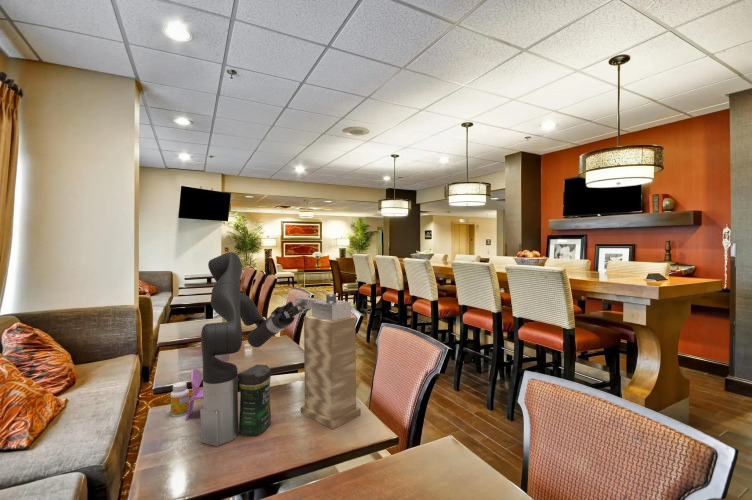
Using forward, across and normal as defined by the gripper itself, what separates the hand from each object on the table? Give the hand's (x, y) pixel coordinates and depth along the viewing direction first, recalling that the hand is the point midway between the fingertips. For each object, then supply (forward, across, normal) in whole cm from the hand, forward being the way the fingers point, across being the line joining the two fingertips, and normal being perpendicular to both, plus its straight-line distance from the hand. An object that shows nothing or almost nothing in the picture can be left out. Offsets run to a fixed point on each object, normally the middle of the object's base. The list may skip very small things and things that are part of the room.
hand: (302, 302), depth 124 cm
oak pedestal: (-5, 0, +38) cm, 38 cm away
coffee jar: (-14, -21, +33) cm, 41 cm away
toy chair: (-33, -28, +22) cm, 48 cm away
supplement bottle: (-39, -32, +19) cm, 54 cm away
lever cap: (+6, 0, +7) cm, 10 cm away
